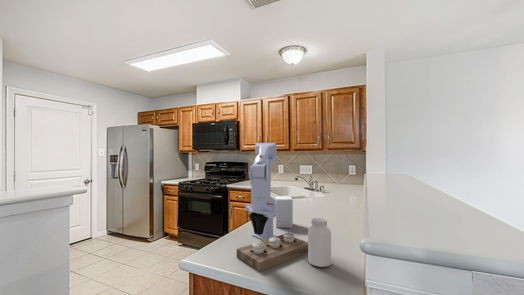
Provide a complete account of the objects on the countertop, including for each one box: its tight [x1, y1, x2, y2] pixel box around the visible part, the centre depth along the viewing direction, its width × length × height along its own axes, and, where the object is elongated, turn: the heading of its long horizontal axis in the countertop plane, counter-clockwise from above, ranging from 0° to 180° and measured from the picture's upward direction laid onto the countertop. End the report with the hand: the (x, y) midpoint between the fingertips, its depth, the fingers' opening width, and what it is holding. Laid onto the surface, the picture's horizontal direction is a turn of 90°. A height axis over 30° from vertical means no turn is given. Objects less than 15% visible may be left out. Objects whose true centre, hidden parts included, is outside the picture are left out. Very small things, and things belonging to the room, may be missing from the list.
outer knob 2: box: [282, 232, 295, 244], centre depth 94 cm, size 4×4×3 cm
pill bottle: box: [307, 217, 332, 268], centre depth 81 cm, size 8×8×15 cm
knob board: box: [236, 233, 308, 273], centre depth 89 cm, size 14×26×3 cm, turn 129°
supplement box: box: [274, 195, 294, 229], centre depth 124 cm, size 9×9×15 cm
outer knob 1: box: [252, 241, 265, 256], centre depth 84 cm, size 4×4×3 cm
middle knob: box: [269, 237, 280, 250], centre depth 89 cm, size 4×4×3 cm
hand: (258, 233), depth 84 cm, fingers closed
